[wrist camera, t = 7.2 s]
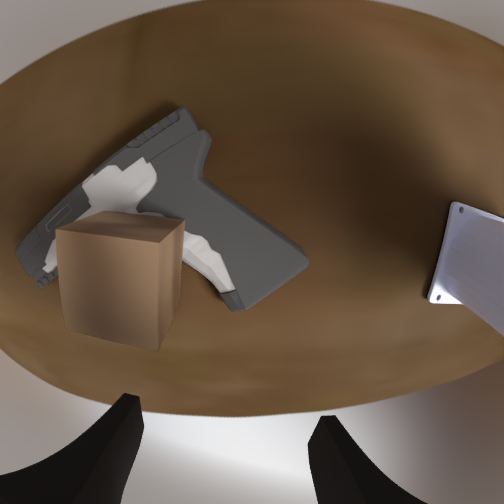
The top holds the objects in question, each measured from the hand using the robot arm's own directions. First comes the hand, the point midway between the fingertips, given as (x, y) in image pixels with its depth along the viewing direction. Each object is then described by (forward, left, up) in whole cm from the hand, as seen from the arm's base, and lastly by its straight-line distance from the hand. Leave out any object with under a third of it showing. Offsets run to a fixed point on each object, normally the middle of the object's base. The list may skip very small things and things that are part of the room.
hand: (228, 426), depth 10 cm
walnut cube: (+6, -4, -8) cm, 11 cm away
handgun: (+6, -3, -11) cm, 13 cm away
